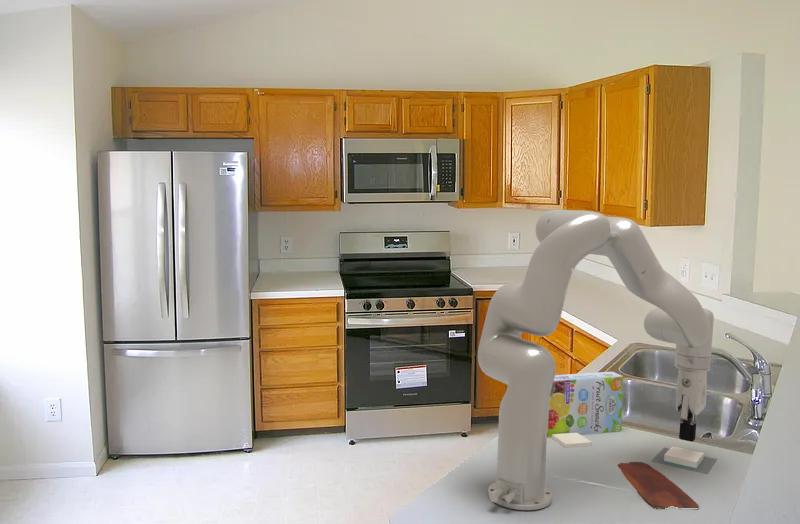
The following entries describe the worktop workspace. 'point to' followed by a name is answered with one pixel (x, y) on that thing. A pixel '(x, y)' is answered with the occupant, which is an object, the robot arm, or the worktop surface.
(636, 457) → the worktop surface
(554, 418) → the snack box
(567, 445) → the tile
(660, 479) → the wooden tablet
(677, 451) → the tile
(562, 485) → the worktop surface
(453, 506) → the worktop surface
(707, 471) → the mat
